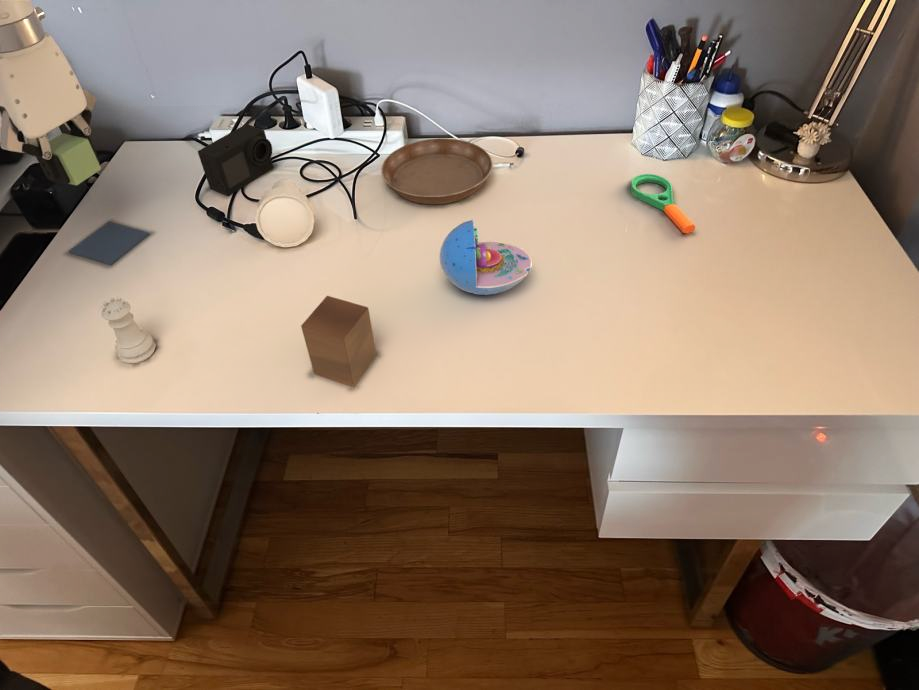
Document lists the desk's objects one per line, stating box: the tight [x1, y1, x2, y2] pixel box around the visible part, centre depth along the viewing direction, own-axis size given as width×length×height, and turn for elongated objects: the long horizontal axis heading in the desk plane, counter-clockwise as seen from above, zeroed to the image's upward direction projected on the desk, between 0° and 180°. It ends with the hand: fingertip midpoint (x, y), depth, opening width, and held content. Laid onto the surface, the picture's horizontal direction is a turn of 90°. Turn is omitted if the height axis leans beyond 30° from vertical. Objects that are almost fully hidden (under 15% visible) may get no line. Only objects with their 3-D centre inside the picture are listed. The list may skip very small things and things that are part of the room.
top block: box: [49, 132, 102, 187], centre depth 89 cm, size 4×4×4 cm
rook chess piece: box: [100, 296, 157, 365], centre depth 80 cm, size 4×4×8 cm
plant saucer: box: [380, 137, 493, 205], centre depth 108 cm, size 18×18×3 cm
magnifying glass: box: [630, 173, 696, 234], centre depth 101 cm, size 15×6×2 cm, turn 15°
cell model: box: [439, 219, 533, 296], centre depth 87 cm, size 10×12×10 cm
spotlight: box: [254, 179, 315, 248], centre depth 99 cm, size 8×11×8 cm
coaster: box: [68, 221, 151, 266], centre depth 99 cm, size 8×8×1 cm
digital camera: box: [197, 123, 275, 197], centre depth 108 cm, size 10×5×7 cm, turn 146°
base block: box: [300, 295, 377, 388], centre depth 78 cm, size 6×6×8 cm
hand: (75, 170), depth 91 cm, fingers closed on top block, 4 cm apart
